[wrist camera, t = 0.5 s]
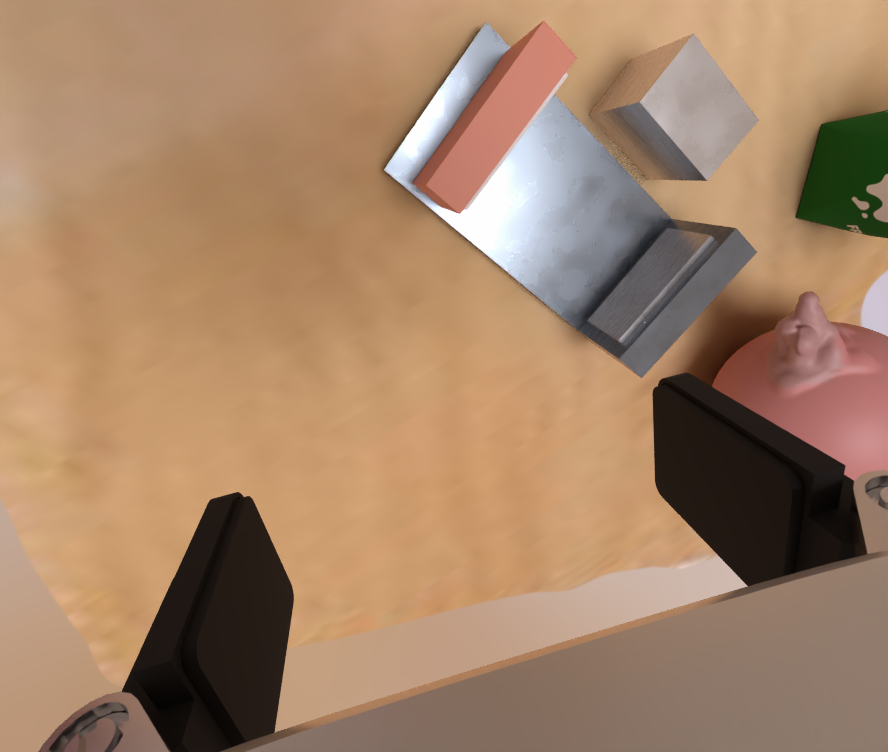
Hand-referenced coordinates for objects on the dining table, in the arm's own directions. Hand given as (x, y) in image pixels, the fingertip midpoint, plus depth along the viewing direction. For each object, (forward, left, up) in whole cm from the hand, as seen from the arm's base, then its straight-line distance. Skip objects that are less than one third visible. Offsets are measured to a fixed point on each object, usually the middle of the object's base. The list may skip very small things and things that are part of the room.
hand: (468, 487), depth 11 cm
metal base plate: (-11, +7, -28) cm, 31 cm away
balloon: (-13, +32, -29) cm, 45 cm away
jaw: (-11, -1, -27) cm, 29 cm away
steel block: (-20, +9, -29) cm, 36 cm away
